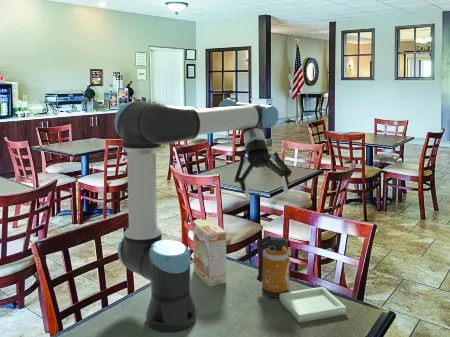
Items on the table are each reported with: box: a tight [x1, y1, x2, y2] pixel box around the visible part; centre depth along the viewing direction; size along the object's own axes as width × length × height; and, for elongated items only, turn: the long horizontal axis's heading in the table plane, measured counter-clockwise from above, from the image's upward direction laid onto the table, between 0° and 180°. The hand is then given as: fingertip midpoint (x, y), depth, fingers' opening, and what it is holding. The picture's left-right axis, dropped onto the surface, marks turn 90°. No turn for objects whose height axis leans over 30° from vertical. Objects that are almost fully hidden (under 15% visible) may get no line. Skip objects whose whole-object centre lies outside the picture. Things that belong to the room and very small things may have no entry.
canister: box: [256, 235, 291, 298], centre depth 154 cm, size 9×11×20 cm
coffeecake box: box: [192, 218, 227, 287], centre depth 166 cm, size 15×7×20 cm, turn 25°
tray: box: [279, 286, 347, 324], centre depth 146 cm, size 16×14×2 cm
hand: (267, 196), depth 157 cm, fingers open, 13 cm apart
